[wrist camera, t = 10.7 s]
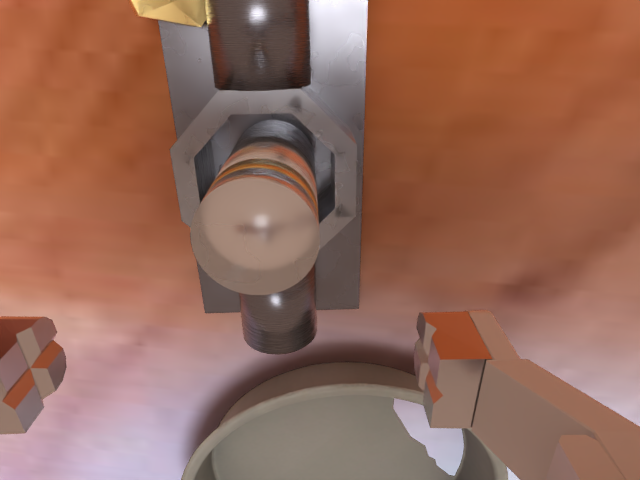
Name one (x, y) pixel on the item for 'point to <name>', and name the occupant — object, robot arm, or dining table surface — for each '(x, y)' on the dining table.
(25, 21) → the dining table surface
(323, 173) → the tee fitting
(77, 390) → the dining table surface
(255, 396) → the cake pan
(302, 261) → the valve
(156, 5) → the yellow piece
